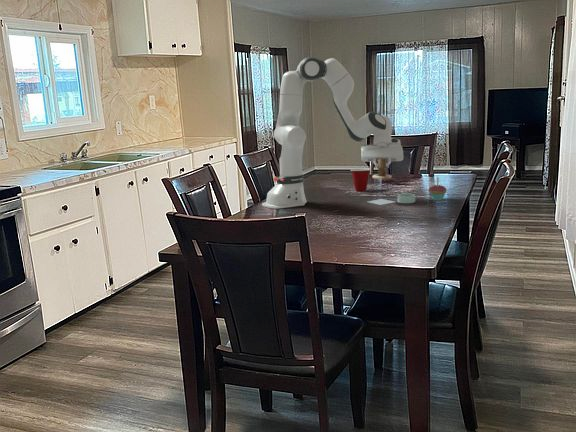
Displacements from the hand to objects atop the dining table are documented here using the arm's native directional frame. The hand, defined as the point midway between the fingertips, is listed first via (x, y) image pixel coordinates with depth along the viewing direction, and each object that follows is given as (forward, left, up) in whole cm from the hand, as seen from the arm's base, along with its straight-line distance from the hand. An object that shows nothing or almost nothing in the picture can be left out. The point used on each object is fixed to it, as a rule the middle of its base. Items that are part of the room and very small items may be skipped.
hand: (381, 167), depth 272 cm
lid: (0, 0, -5) cm, 5 cm away
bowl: (+9, -7, -17) cm, 21 cm away
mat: (0, +1, -17) cm, 17 cm away
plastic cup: (+14, +32, -18) cm, 39 cm away
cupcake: (+24, -13, -18) cm, 33 cm away
